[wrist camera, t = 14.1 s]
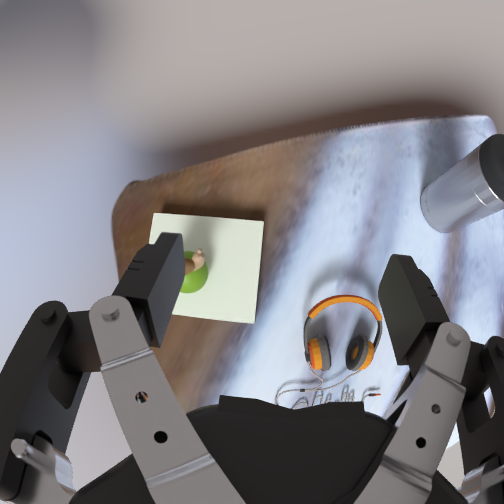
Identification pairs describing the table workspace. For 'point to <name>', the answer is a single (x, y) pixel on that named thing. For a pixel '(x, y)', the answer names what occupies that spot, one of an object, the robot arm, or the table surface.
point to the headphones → (356, 354)
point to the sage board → (218, 264)
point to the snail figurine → (194, 271)
